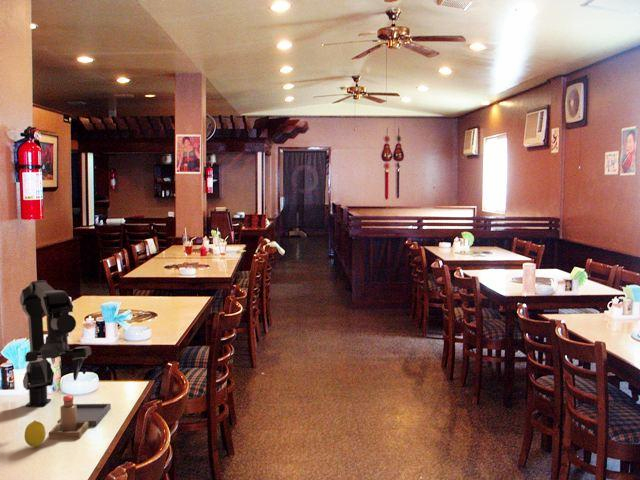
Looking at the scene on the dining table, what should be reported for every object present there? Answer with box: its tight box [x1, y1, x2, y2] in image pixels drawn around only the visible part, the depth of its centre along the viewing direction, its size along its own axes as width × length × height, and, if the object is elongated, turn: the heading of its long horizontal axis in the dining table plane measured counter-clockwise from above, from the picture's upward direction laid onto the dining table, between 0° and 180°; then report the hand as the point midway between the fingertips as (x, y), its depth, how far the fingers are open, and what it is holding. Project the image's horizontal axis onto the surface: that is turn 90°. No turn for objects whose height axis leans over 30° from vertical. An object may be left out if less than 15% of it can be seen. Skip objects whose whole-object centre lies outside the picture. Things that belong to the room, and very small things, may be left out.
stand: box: [48, 421, 90, 440], centre depth 192 cm, size 9×9×2 cm
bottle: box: [60, 394, 78, 432], centre depth 191 cm, size 5×5×12 cm
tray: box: [57, 403, 112, 427], centre depth 205 cm, size 16×12×2 cm
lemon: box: [24, 420, 46, 449], centre depth 181 cm, size 6×6×8 cm
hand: (60, 381), depth 196 cm, fingers open, 9 cm apart
